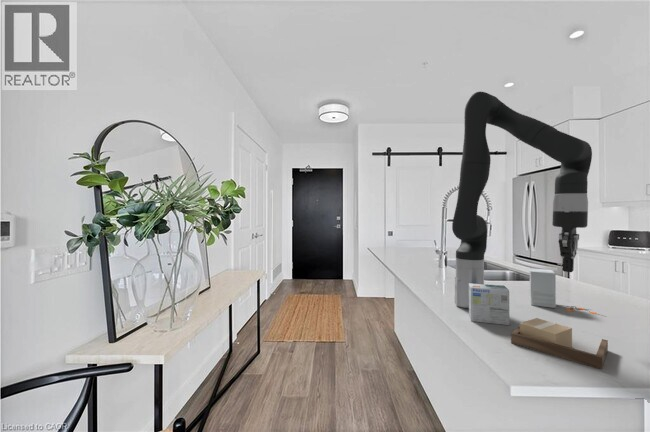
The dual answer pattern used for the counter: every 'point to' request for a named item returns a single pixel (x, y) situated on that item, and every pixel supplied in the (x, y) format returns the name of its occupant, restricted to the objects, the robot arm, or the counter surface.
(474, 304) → the light bulb box
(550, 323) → the kraft carton
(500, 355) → the counter surface
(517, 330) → the brown wooden u-shaped piece
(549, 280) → the supplement box
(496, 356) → the counter surface
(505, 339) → the counter surface
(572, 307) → the key chain
